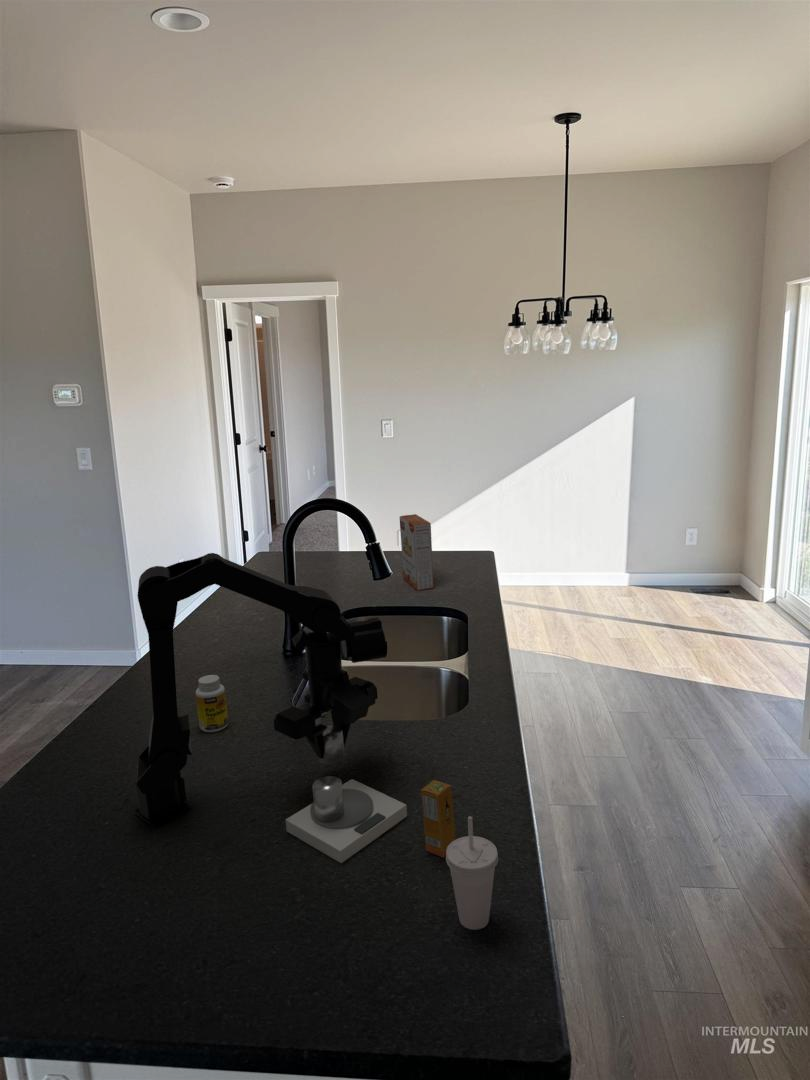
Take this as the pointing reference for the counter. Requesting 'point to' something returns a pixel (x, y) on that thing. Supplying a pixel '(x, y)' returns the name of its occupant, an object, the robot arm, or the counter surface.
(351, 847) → the scale
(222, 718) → the supplement bottle
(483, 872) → the smoothie
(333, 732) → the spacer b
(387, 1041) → the counter surface
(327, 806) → the spacer
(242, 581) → the robot arm
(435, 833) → the supplement box
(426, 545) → the cracker box
